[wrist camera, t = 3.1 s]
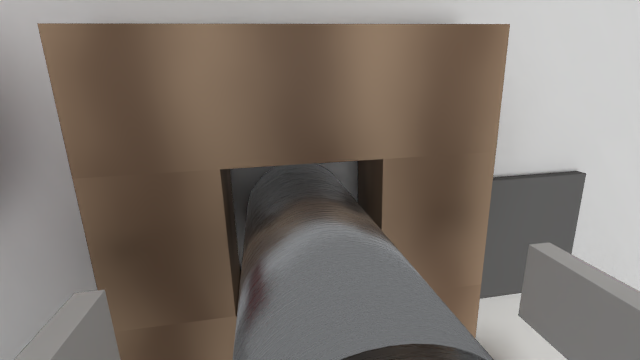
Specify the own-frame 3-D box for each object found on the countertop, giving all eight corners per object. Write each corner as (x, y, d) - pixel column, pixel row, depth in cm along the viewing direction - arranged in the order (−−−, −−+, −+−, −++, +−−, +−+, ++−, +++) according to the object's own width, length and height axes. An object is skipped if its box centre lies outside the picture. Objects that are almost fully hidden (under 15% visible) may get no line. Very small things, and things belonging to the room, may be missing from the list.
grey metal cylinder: (251, 259, 20) (231, 720, 5) (243, 164, 18) (183, 446, 4) (346, 249, 20) (548, 621, 6) (345, 157, 19) (609, 368, 5)
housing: (153, 365, 20) (128, 429, 16) (91, 39, 15) (37, 23, 12) (436, 323, 23) (471, 370, 19) (457, 37, 18) (509, 24, 14)
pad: (452, 296, 23) (457, 301, 22) (462, 180, 21) (468, 182, 20) (557, 282, 24) (565, 286, 23) (577, 171, 22) (586, 173, 21)
